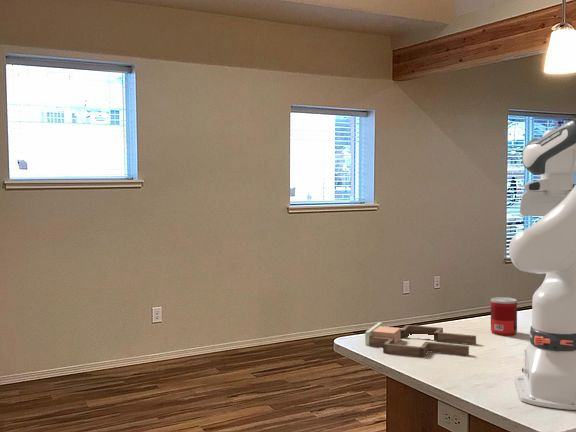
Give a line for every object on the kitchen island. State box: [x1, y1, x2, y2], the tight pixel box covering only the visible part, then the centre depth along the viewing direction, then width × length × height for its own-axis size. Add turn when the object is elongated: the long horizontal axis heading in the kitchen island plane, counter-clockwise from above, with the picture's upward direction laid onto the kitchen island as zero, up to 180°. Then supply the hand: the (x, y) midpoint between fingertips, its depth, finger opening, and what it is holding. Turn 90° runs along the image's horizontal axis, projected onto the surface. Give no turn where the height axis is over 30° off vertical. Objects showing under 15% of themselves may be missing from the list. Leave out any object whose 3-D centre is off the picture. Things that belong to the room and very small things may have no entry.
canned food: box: [490, 296, 518, 337], centre depth 201 cm, size 8×8×11 cm
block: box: [372, 325, 402, 344], centre depth 194 cm, size 7×7×4 cm
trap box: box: [364, 321, 477, 358], centre depth 190 cm, size 25×31×4 cm
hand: (556, 231), depth 183 cm, fingers closed
